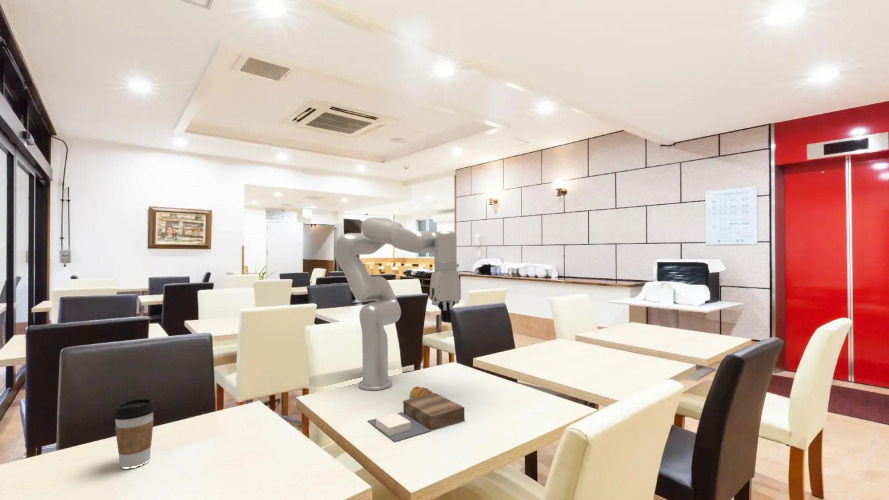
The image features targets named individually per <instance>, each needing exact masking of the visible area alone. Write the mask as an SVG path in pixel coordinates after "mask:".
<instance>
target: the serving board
mask: <svg viewBox="0 0 889 500" xmlns="http://www.w3.org/2000/svg"><path fill="white" fill-rule="evenodd" d="M402 402H403V404H402V405H403V408H402V409H403V411H402V412H403V413H404V414H406V415H407V416H409V417H411V418H412V419H414V420H415V421H417V422H419V423H420V424H422V425H423V426H425V427H427V428H428V429H430V430H431V431H435V430H437V429H441V428H445V427H448V426H451V425H455V424H458V423H461V422H464V421H465V407H464V406H463V405H460V404H458V403H457V402H455V401H453V400H450V399H448V398H447V397H444V396H443V395H440V394H438V393H436V392H433V394H429V395H425V396H420V397H416V398H412V399H411V398H409V399H405V400H403V401H402Z"/></svg>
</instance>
